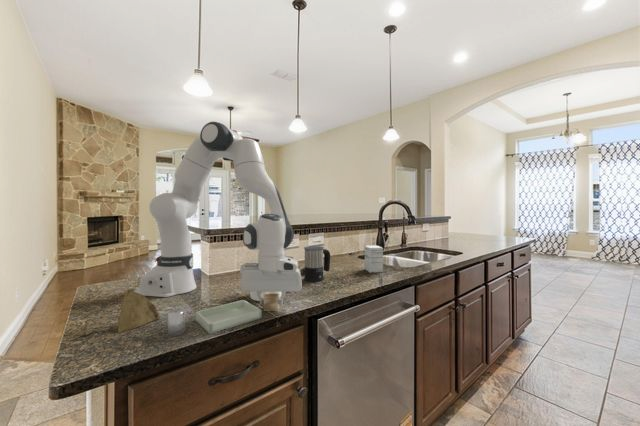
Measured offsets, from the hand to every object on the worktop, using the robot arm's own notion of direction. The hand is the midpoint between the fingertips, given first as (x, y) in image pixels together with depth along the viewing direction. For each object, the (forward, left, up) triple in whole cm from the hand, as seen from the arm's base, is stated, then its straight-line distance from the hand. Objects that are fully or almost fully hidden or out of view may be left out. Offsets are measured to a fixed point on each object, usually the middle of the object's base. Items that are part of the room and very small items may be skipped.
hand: (271, 303), depth 97 cm
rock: (-37, -11, -2) cm, 39 cm away
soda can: (+3, +21, -2) cm, 21 cm away
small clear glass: (-24, -16, -2) cm, 29 cm away
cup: (-4, +13, -2) cm, 14 cm away
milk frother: (+13, +39, -2) cm, 41 cm away
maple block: (0, 0, -2) cm, 2 cm away
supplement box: (+45, +51, -2) cm, 68 cm away
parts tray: (-12, -8, -2) cm, 15 cm away
